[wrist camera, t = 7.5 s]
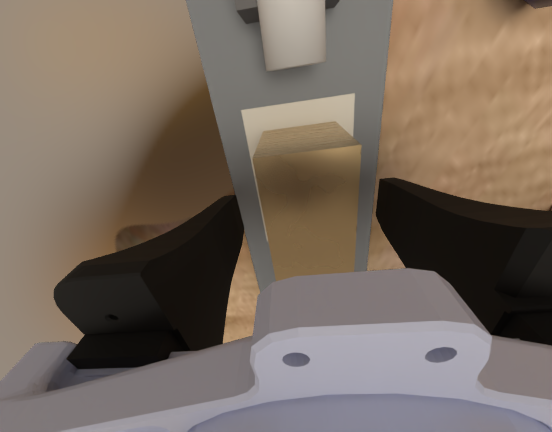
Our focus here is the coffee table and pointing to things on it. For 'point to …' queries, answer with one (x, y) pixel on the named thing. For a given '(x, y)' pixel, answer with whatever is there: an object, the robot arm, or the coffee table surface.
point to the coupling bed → (293, 89)
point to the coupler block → (309, 198)
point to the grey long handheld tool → (539, 3)
